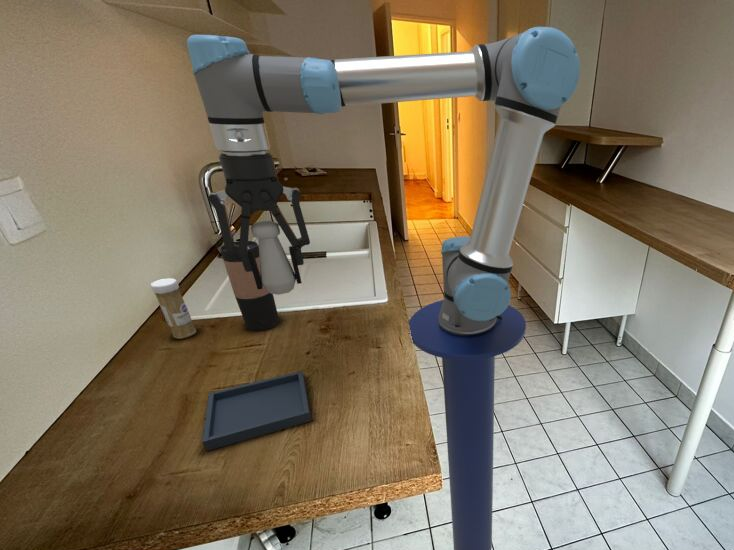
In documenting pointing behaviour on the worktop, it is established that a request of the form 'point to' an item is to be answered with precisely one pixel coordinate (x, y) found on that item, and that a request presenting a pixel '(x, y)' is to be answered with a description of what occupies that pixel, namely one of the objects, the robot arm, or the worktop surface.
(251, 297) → the travel mug
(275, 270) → the salt shaker
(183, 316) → the sprinkles bottle
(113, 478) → the worktop surface
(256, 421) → the tray
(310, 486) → the worktop surface
